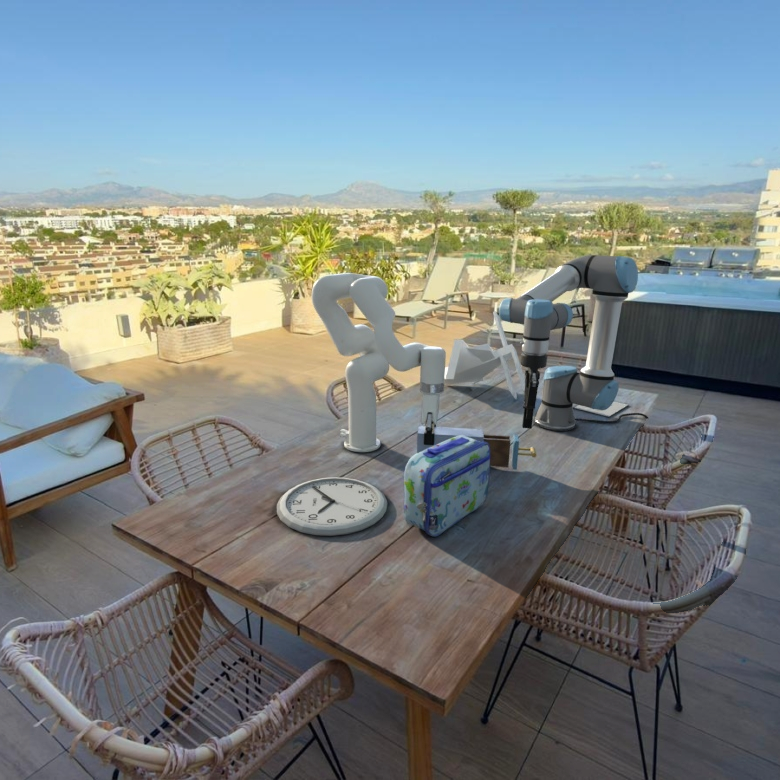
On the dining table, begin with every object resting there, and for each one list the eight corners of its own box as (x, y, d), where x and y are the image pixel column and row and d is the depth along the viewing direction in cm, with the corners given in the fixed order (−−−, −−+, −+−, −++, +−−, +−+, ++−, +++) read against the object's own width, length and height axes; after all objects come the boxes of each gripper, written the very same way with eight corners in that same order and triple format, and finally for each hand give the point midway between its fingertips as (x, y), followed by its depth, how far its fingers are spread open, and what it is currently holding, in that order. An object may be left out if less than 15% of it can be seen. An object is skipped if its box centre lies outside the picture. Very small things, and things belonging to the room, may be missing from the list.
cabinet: (481, 462, 170) (483, 429, 167) (481, 470, 164) (483, 437, 161) (418, 457, 173) (419, 425, 170) (416, 466, 167) (417, 433, 164)
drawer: (533, 463, 167) (535, 435, 164) (535, 471, 162) (538, 442, 159) (454, 458, 171) (455, 431, 168) (454, 465, 166) (455, 437, 163)
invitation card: (608, 416, 214) (573, 407, 224) (608, 416, 214) (573, 408, 224) (628, 404, 229) (594, 396, 238) (628, 405, 229) (594, 397, 238)
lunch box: (429, 545, 125) (432, 466, 119) (397, 527, 132) (398, 451, 126) (492, 507, 143) (498, 436, 136) (460, 493, 150) (465, 425, 144)
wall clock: (392, 527, 129) (268, 531, 127) (391, 533, 130) (269, 537, 127) (383, 473, 158) (282, 475, 155) (383, 478, 158) (282, 480, 156)
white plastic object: (461, 429, 252) (437, 405, 227) (444, 352, 274) (420, 323, 250) (535, 404, 240) (518, 377, 215) (510, 326, 262) (492, 293, 237)
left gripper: (422, 378, 171) (420, 429, 176) (417, 394, 154) (415, 450, 159) (445, 379, 170) (442, 431, 175) (442, 396, 153) (440, 452, 158)
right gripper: (519, 347, 161) (512, 419, 168) (523, 357, 148) (516, 434, 156) (544, 348, 160) (536, 420, 167) (550, 358, 147) (542, 436, 155)
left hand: (429, 439), depth 167 cm, fingers closed on cabinet, 6 cm apart
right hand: (526, 427), depth 161 cm, fingers closed
